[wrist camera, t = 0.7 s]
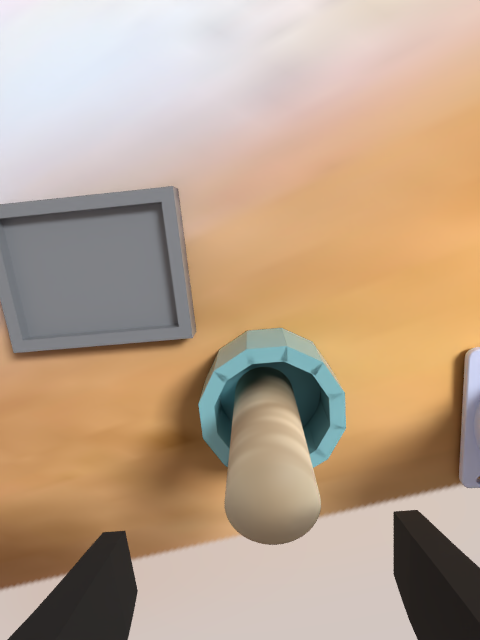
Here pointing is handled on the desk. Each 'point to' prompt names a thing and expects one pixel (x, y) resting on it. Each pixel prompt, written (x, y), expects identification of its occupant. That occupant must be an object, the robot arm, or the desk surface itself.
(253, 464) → the pin
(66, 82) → the desk surface
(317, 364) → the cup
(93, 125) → the desk surface
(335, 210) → the desk surface
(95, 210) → the tray
